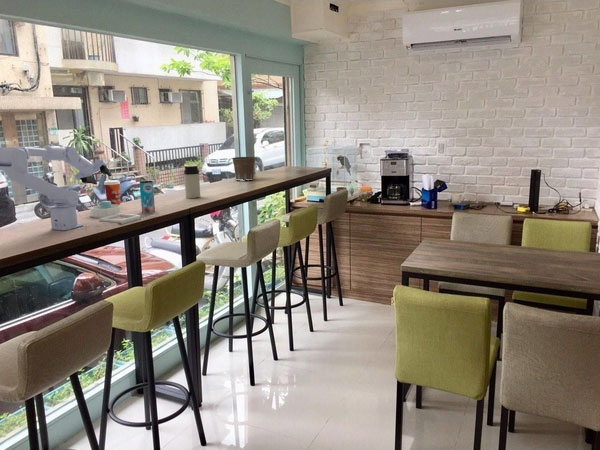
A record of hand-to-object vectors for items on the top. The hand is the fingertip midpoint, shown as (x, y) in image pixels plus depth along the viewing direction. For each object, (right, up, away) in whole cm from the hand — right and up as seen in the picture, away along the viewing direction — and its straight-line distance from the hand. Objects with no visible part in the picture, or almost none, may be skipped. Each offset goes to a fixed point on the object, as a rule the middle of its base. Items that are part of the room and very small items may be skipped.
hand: (103, 178), depth 224 cm
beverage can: (+17, -15, +12) cm, 26 cm away
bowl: (-1, -17, +6) cm, 18 cm away
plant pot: (+49, +10, +129) cm, 138 cm away
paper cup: (-4, -13, +25) cm, 28 cm away
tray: (+10, -19, -5) cm, 22 cm away
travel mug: (+28, -5, +58) cm, 64 cm away
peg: (-1, -16, +6) cm, 17 cm away
